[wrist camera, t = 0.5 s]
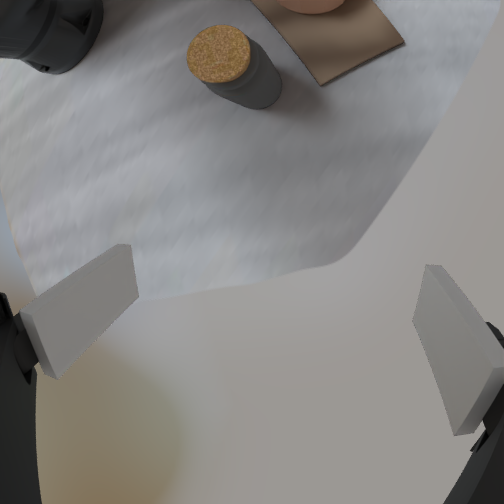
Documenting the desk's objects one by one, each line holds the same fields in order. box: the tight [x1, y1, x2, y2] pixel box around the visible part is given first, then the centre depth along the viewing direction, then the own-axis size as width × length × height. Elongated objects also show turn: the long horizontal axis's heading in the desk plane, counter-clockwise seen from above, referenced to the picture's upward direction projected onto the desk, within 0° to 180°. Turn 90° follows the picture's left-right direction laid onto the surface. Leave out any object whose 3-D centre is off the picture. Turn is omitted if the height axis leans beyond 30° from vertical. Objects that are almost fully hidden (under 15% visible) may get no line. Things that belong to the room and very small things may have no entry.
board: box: [250, 0, 404, 86], centre depth 27 cm, size 18×12×1 cm, turn 34°
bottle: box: [187, 25, 282, 109], centre depth 26 cm, size 6×6×15 cm
